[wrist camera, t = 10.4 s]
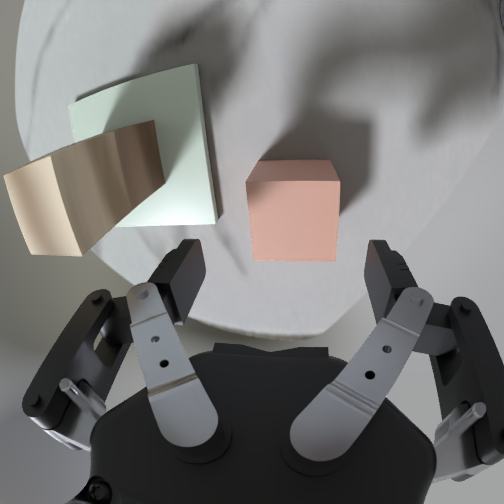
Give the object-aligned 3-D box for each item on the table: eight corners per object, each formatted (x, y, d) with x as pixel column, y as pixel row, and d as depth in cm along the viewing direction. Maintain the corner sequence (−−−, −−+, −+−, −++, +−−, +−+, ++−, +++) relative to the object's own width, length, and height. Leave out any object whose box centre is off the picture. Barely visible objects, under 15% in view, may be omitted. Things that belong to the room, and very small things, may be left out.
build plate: (197, 64, 15) (193, 63, 14) (218, 219, 21) (215, 224, 21) (73, 104, 17) (68, 105, 17) (102, 224, 24) (97, 228, 23)
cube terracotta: (330, 159, 18) (340, 181, 13) (328, 224, 20) (335, 261, 16) (258, 160, 18) (245, 182, 14) (263, 224, 21) (253, 260, 17)
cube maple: (113, 131, 13) (50, 155, 9) (132, 210, 15) (82, 256, 11) (59, 148, 14) (3, 175, 9) (78, 215, 16) (31, 254, 12)
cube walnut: (154, 119, 17) (113, 131, 13) (165, 183, 20) (131, 211, 15) (102, 133, 18) (59, 149, 14) (114, 189, 20) (77, 216, 16)
